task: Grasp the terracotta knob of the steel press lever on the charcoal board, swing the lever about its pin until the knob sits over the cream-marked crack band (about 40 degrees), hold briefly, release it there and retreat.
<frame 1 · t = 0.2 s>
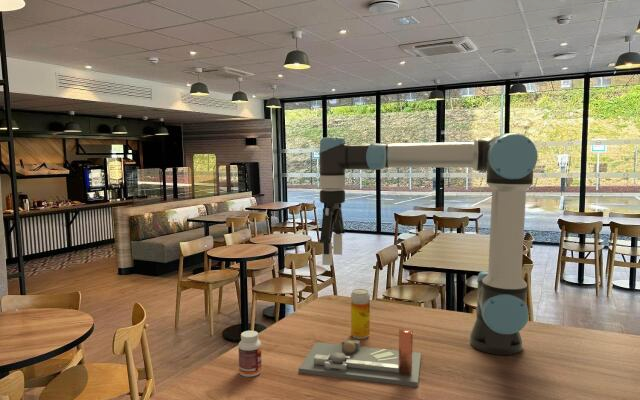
hand: (332, 259, 142), 28 cm above the table, fingers open, 13 cm apart
lever: (362, 347, 128), point 7 cm above the table, hinge at 0.0°
press: (337, 370, 130), on the table
pill bottle: (250, 373, 129), on the table
beer can: (360, 336, 154), on the table
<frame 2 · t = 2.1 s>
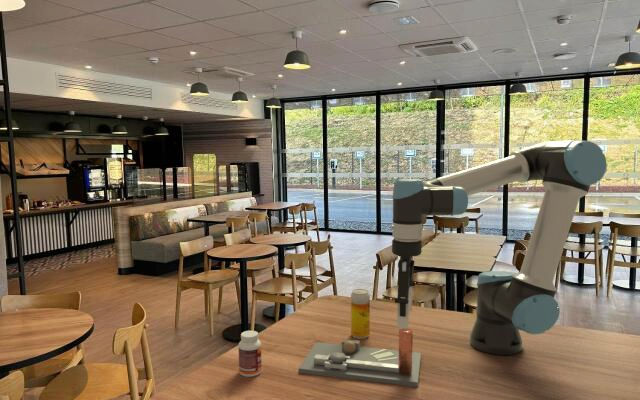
hand: (404, 318, 124), 16 cm above the table, fingers open, 13 cm apart
nothing on the table moved.
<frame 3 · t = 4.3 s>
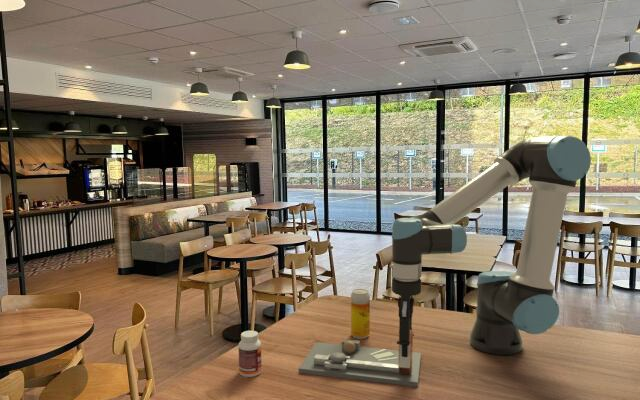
hand: (405, 363, 125), 4 cm above the table, fingers closed on lever, 4 cm apart
lever: (362, 347, 128), point 7 cm above the table, hinge at 0.0°, touching gripper
everything else where it was.
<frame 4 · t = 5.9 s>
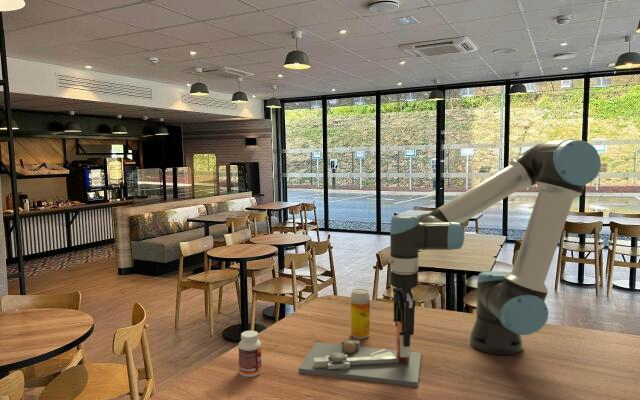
hand: (403, 352, 131), 4 cm above the table, fingers closed on lever, 4 cm apart
lever: (362, 343, 130), point 7 cm above the table, hinge at 19.8°, touching gripper
everything else where it was.
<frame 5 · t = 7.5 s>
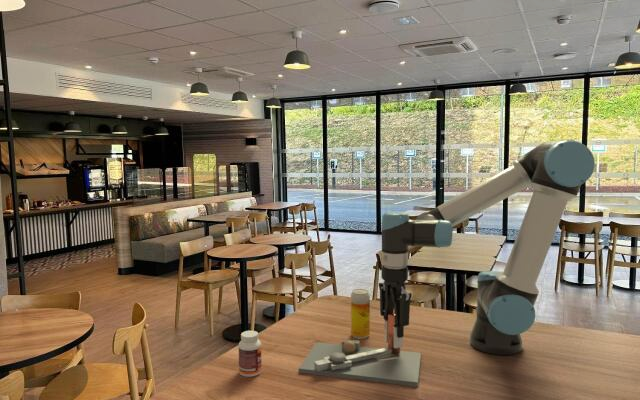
hand: (393, 344, 137), 4 cm above the table, fingers closed on lever, 4 cm apart
lever: (359, 340, 132), point 7 cm above the table, hinge at 39.3°, touching gripper
everything else where it was.
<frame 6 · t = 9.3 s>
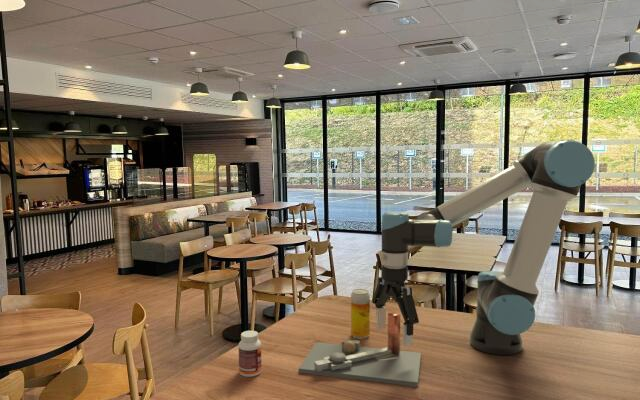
hand: (393, 336, 137), 6 cm above the table, fingers open, 13 cm apart
lever: (359, 340, 132), point 7 cm above the table, hinge at 39.5°
everything else where it was.
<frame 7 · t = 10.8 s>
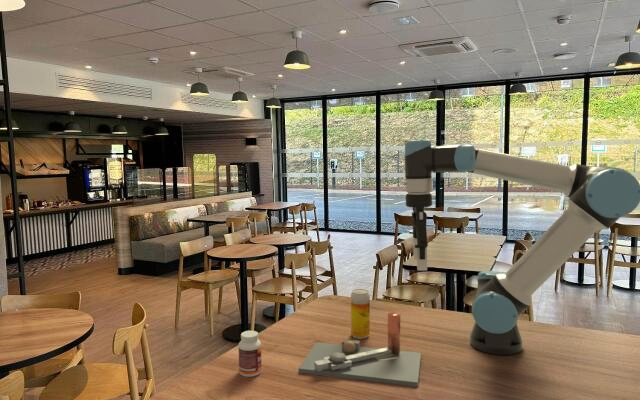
hand: (420, 264, 139), 27 cm above the table, fingers open, 13 cm apart
nothing on the table moved.
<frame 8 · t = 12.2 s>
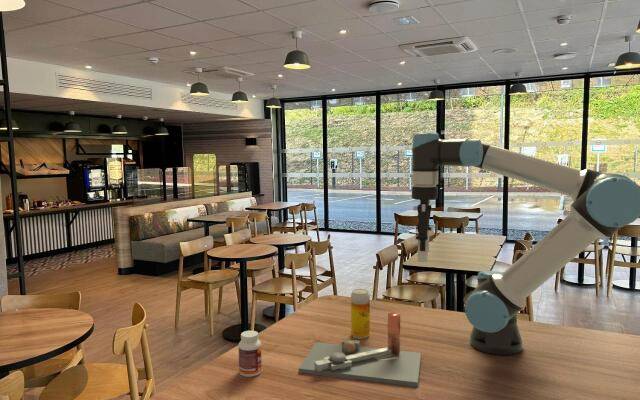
hand: (423, 256, 141), 29 cm above the table, fingers open, 13 cm apart
nothing on the table moved.
at the end: lever at +40° (first picture: +0°); the gripper is holding nothing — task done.
